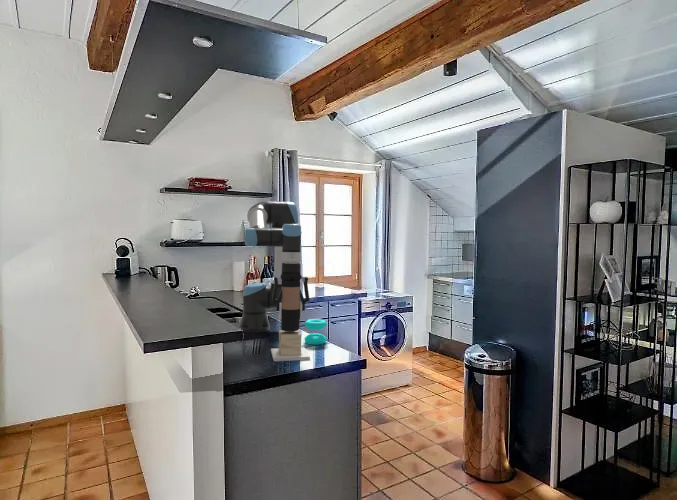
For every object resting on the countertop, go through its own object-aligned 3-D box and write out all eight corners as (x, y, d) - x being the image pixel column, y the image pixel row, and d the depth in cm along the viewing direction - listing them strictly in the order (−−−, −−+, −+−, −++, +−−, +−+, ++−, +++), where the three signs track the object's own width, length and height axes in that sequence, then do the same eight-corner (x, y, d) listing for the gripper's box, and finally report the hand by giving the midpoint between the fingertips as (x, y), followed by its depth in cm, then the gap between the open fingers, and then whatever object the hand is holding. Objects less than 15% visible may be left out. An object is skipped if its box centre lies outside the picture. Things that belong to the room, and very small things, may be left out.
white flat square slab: (271, 351, 184) (271, 348, 184) (304, 350, 187) (304, 346, 187) (273, 361, 170) (273, 357, 170) (309, 359, 173) (309, 356, 173)
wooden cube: (278, 349, 181) (279, 330, 181) (298, 349, 183) (298, 329, 183) (280, 355, 174) (281, 335, 173) (300, 354, 175) (301, 334, 175)
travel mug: (276, 329, 177) (277, 280, 176) (289, 326, 183) (289, 278, 182) (291, 332, 173) (292, 281, 172) (303, 329, 179) (304, 280, 178)
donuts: (301, 319, 202) (321, 317, 206) (301, 341, 202) (320, 338, 207) (310, 323, 193) (330, 321, 197) (309, 346, 193) (330, 344, 198)
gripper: (266, 263, 171) (265, 321, 172) (318, 263, 175) (317, 320, 176) (264, 261, 178) (264, 317, 179) (314, 261, 183) (313, 316, 184)
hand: (290, 319), depth 178 cm, fingers closed on travel mug, 8 cm apart
